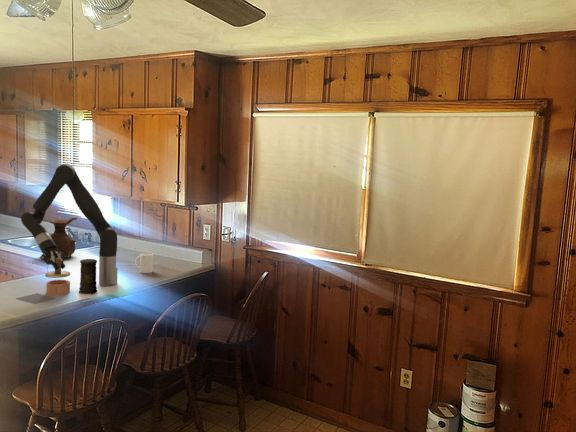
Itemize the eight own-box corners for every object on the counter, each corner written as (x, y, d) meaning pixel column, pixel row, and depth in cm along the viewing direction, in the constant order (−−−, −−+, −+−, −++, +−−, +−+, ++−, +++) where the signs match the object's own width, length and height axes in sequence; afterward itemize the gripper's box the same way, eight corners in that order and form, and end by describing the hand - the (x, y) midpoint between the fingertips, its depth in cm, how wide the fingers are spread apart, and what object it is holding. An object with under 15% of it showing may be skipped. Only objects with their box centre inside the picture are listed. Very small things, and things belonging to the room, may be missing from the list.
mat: (37, 294, 244) (37, 293, 244) (56, 299, 238) (56, 298, 238) (15, 299, 233) (15, 298, 233) (34, 305, 227) (34, 304, 227)
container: (75, 292, 251) (75, 260, 249) (90, 289, 258) (91, 257, 256) (85, 296, 246) (85, 263, 244) (100, 292, 254) (100, 260, 252)
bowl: (60, 289, 255) (60, 278, 255) (74, 292, 251) (74, 281, 250) (41, 293, 246) (41, 282, 245) (56, 297, 241) (56, 286, 240)
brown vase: (54, 262, 316) (54, 218, 313) (35, 257, 327) (35, 215, 323) (82, 257, 335) (83, 216, 331) (64, 253, 345) (64, 213, 342)
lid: (60, 271, 255) (60, 255, 254) (75, 274, 250) (75, 258, 249) (40, 275, 244) (40, 258, 243) (55, 279, 239) (55, 262, 238)
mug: (132, 272, 300) (132, 254, 299) (137, 269, 309) (138, 252, 307) (150, 274, 299) (150, 256, 298) (155, 271, 308) (155, 253, 307)
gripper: (36, 240, 242) (52, 266, 238) (60, 237, 254) (75, 262, 250) (30, 248, 245) (45, 275, 241) (53, 245, 257) (68, 270, 253)
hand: (60, 268), depth 246 cm, fingers closed on lid, 3 cm apart
